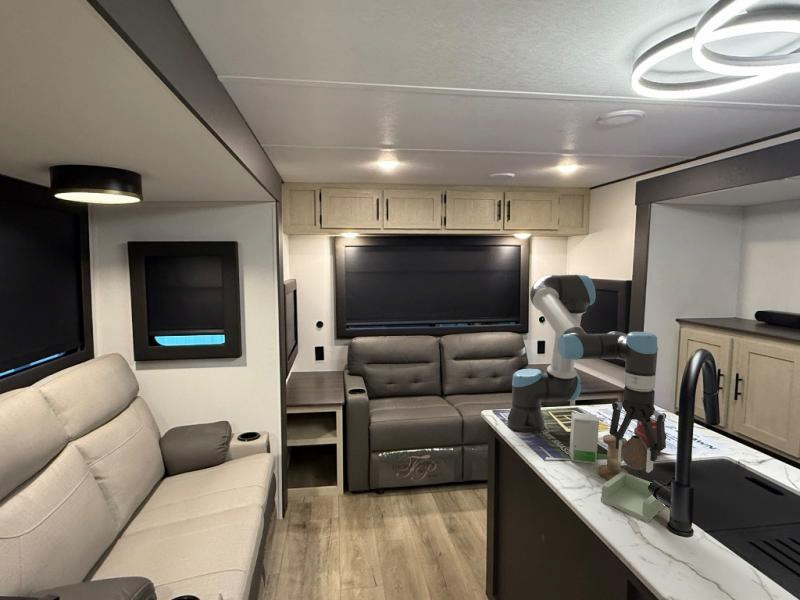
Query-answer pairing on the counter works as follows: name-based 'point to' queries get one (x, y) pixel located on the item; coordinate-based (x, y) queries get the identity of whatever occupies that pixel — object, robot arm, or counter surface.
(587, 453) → the skincare box
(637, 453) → the vase
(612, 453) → the bobbin
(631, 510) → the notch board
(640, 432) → the mechanical component
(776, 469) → the counter surface
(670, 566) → the counter surface
